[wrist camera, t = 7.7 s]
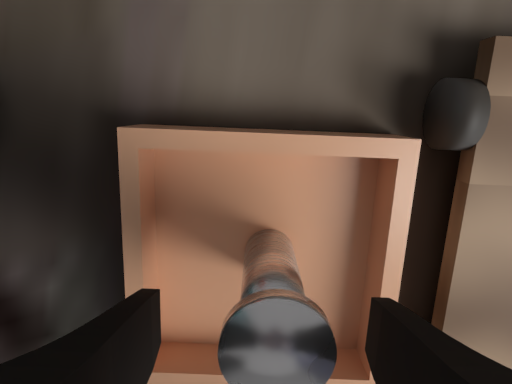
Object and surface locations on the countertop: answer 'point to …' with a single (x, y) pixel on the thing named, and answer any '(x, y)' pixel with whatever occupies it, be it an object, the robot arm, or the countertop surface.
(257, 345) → the pin
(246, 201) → the tray
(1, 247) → the countertop surface
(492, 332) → the trolley
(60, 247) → the countertop surface
